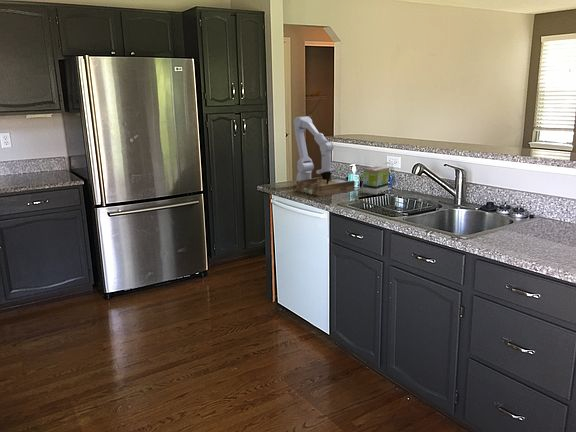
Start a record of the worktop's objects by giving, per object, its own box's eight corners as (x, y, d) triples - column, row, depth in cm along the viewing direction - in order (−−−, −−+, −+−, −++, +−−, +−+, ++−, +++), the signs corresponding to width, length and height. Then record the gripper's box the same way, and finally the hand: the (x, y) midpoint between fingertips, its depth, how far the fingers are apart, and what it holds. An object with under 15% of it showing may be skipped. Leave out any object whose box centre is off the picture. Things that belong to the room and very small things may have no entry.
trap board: (296, 190, 315) (296, 181, 314) (330, 185, 332) (330, 175, 331) (320, 196, 299) (320, 186, 297) (354, 190, 315) (354, 180, 314)
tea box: (377, 195, 302) (378, 170, 299) (362, 192, 308) (362, 168, 305) (388, 190, 314) (389, 166, 310) (374, 188, 320) (374, 165, 316)
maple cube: (317, 186, 313) (317, 179, 312) (322, 185, 315) (322, 179, 314) (321, 187, 310) (321, 180, 309) (326, 186, 312) (326, 179, 311)
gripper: (321, 164, 304) (321, 186, 307) (339, 161, 313) (339, 183, 316) (314, 162, 309) (313, 184, 313) (331, 160, 318) (331, 182, 321)
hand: (326, 184), depth 315 cm, fingers closed
